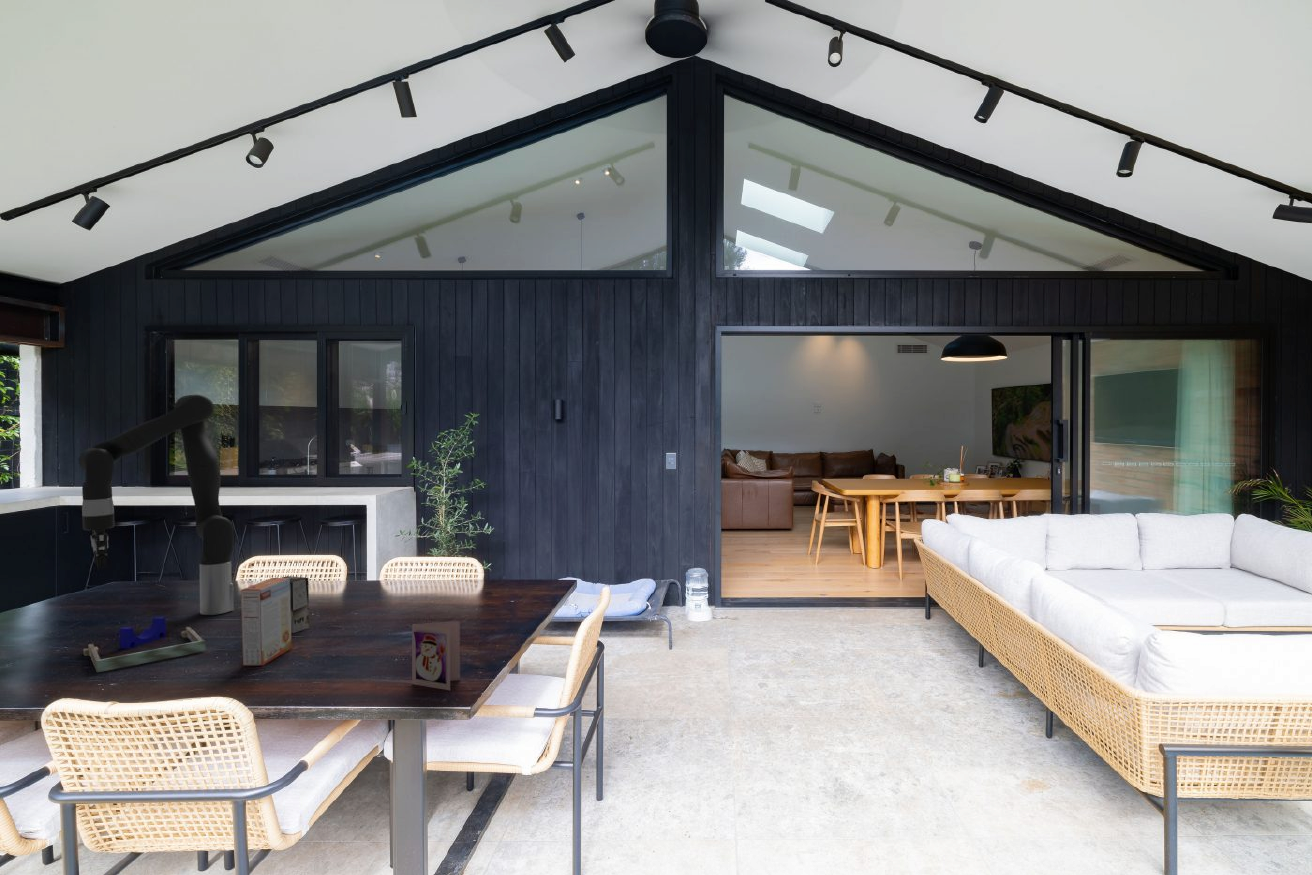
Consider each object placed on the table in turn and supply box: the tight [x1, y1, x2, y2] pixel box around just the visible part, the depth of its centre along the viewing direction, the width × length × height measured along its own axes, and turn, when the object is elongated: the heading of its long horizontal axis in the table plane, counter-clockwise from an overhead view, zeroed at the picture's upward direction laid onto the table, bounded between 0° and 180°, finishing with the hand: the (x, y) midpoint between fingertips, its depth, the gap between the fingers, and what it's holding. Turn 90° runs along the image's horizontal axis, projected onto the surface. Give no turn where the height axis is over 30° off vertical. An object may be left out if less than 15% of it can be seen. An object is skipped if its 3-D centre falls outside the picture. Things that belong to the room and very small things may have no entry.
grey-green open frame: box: [82, 626, 206, 673], centre depth 193 cm, size 26×22×3 cm
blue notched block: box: [118, 616, 167, 650], centre depth 201 cm, size 12×4×6 cm, turn 169°
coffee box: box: [281, 575, 310, 634], centre depth 214 cm, size 9×6×16 cm
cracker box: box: [240, 577, 292, 667], centre depth 188 cm, size 14×6×21 cm, turn 178°
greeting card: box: [411, 620, 461, 691], centre depth 169 cm, size 11×7×15 cm, turn 69°
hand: (100, 565), depth 208 cm, fingers open, 8 cm apart
